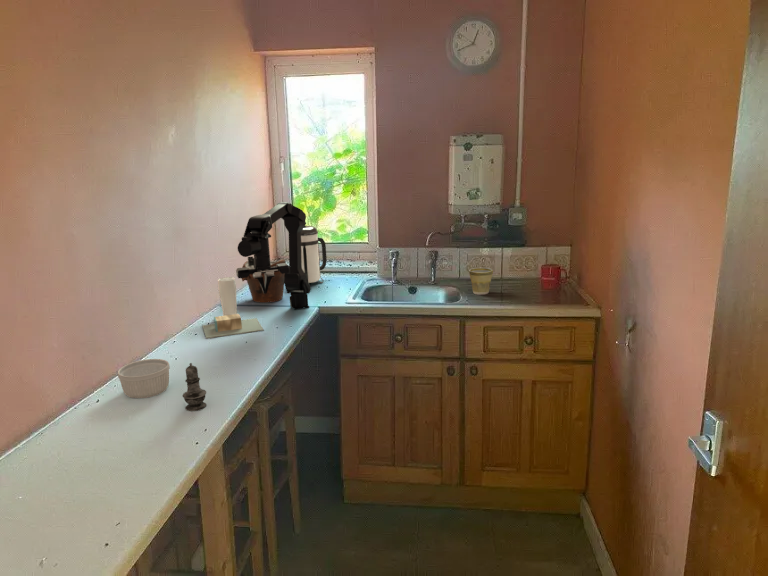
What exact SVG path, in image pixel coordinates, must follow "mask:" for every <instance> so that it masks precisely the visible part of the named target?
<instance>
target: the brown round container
mask: <svg viewBox="0 0 768 576" xmlns="http://www.w3.org/2000/svg"><path fill="white" fill-rule="evenodd" d="M270 263H271V267H276V266H277V264H282V263H286V264H287V262H286V260H285V259H284V258H281V259H279V260H277V261H270ZM244 267H247V268H248V269H255V268H254V266H249V265H248V260H247V261H245V262H244V263H243V264H242V267H241V268H244ZM284 274H285V273H284ZM284 274H282V273H281V272H279V271H277V272H274V275H275V277H272V279H271V281H270V284H269V287H268V290H267V293H266V294H264V292H263V290H262V287H261V285H260V283H259V281H258V279H254V277H253V274H250V275H249V276H248V277H247V278H240V279H241V281H242V282H245V281H246V283H247V286H248V288H249V291H250V295H251V299H252V301H254V302H256V303H273V302H278V301H280V300H282V299H283V297H284V288H285V284H284V280H285V278H284ZM261 275H262V276H263V280H264V286H265V275H264V273H261Z"/></svg>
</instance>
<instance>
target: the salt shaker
mask: <svg viewBox="0 0 768 576" xmlns="http://www.w3.org/2000/svg"><path fill="white" fill-rule="evenodd" d="M198 371H199V370H198V367H197V366H195V365H193V363H192V362H190V363H189V365H188V366H187V367H186V368H185V374H186V375H185V376H186V379H185V380H184V381H185V383H186V385H187V391H185V392H183V394H182V398H183V399H184V401H185V402H186V404H187V405H186V406H185V407H184V408H185V410H186V411H188V412H196V411H201V410H203V409H205V408H206V407H207V403H206V402H204V400H205V399H206V395H207V391H206V390H205V389H203V388H201V385H200V380H201V378H200V377H199V372H198Z"/></svg>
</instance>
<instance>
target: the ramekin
mask: <svg viewBox="0 0 768 576" xmlns="http://www.w3.org/2000/svg"><path fill="white" fill-rule="evenodd" d="M170 369H171V366H170V363H169V361H167V360H166V359H161V358H148V359H147V358H146V359H140V360H136V361H133V362H129V363H128V364H125V365H123V366H121V367H120V368H119V369H118V370H117V378H118V379H119V381H120V385H121V387H122V391H123V393H124V395H126V396H127V397H129V398H131V399H146V398H153V397H155V396H158V395H160V394H162V393H164V392H165V391H167V388H168V387H169V384H170Z"/></svg>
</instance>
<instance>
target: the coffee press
mask: <svg viewBox="0 0 768 576" xmlns="http://www.w3.org/2000/svg"><path fill="white" fill-rule="evenodd" d="M318 234H319V231H318V230H317V227H316V226H315V227H314V226H313V225H307V222H306V221H305V226H304V228H303V230H302V231H301V262H302V270H303V271H304V273H305V275H306V281H307V282H308V283H309V284H310V283H311V284H313V283H317V282H319V283H320V284H324V279H323V278H322V276H321V271H323V270H324V269H325V268H326V265H327V248H326V247H327V246H326V242H325V240H324V238H322V237H318ZM319 242H320V244H321V255H322V263H320V261H321V258H320V248H319V246H320V245H319ZM320 279H321V281H320Z"/></svg>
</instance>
